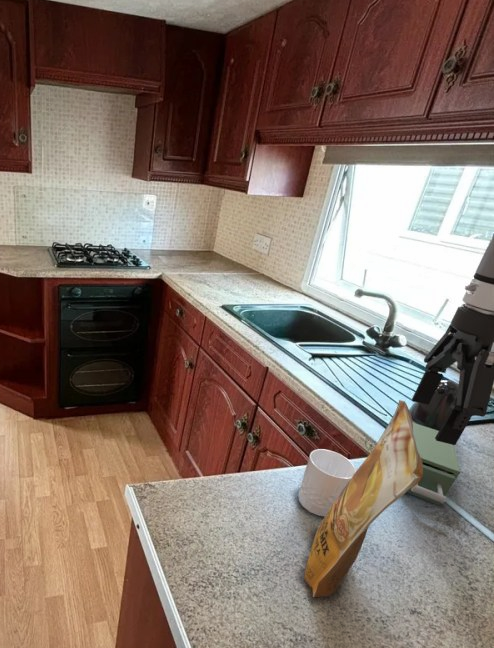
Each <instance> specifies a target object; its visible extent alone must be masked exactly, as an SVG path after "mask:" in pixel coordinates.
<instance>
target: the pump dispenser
mask: <svg viewBox="0 0 494 648" xmlns="http://www.w3.org/2000/svg"><path fill="white" fill-rule="evenodd" d="M458 387H459V383H456V382H455V381H452V380H448V379H441V381H440V383H439V385H438V387H437V389H436V391H435V393H434V395H433V397H432V399H431V401H430V403H429V405H427V404H423V403H418V402H414V401H413V403H412V405H411V406H410V408H408V409H409V411H410V413H411V416H412V422H413V423H416V424H419V425H422V426H425V427H428V428H431V429H434V430H437V431H439V430H440V428H441V426H442V424H443V422H444V420H445V419H446V417H447V415H448V413H449V411H450V409H451V406H453V405H457V396H458Z"/></svg>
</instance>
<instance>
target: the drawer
mask: <svg viewBox="0 0 494 648" xmlns="http://www.w3.org/2000/svg"><path fill="white" fill-rule="evenodd" d="M422 463H423V476H422V478H421V479H420V481H419V482H418V484H417V485H416V486H414V487H413V488H411V489H409V490H408V491H407V492H406V493H407V494H410V495H413V496H415V497H418V498H420V499H422V500H425V501H428V502H430V503H433V504H435V505H436V506H437V505H438V506H441V505H442V504H444V503H445V502H446V499H447V495H448V494H447V493H449V492H450V490H451V489H452V487H453V485H454V484H455V482H456V480H455V476H454V475H451V474H448V472H449V471H446V470H443V469H440V468H437V467H435V466H432V465H429V464H426V463H424V462H422ZM454 481H455V482H454ZM453 483H454V484H453ZM452 484H453V485H452ZM451 486H452V487H451ZM450 488H451V489H450ZM449 489H450V490H449ZM448 491H449V492H448ZM446 494H447V495H446ZM441 503H442V504H441ZM440 504H441V505H440Z"/></svg>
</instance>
